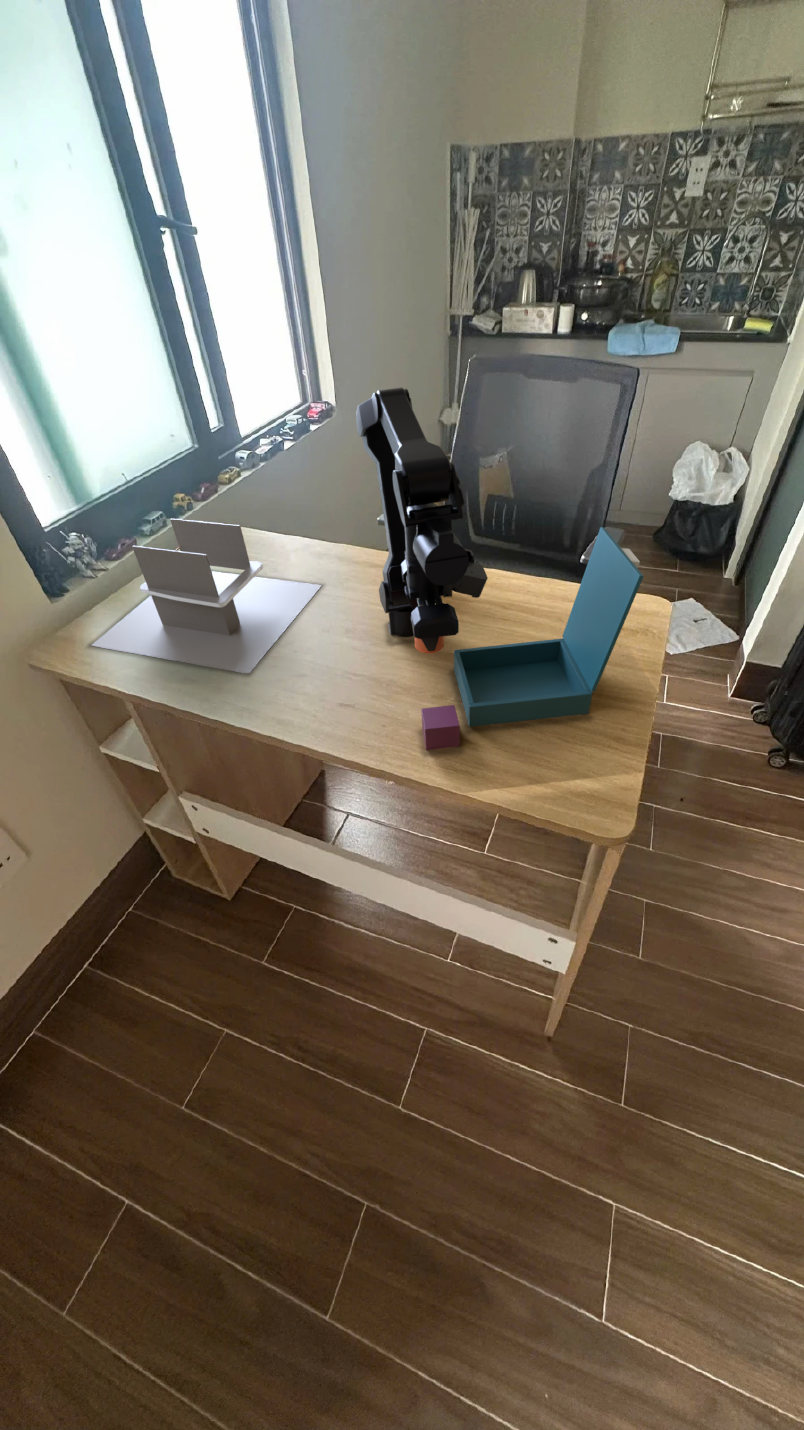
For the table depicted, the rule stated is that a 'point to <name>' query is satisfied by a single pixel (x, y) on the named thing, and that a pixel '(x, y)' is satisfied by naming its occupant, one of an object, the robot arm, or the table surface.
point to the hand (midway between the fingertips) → (429, 641)
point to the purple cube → (440, 727)
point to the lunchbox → (520, 682)
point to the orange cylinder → (422, 648)
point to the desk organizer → (207, 602)
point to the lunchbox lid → (601, 606)
